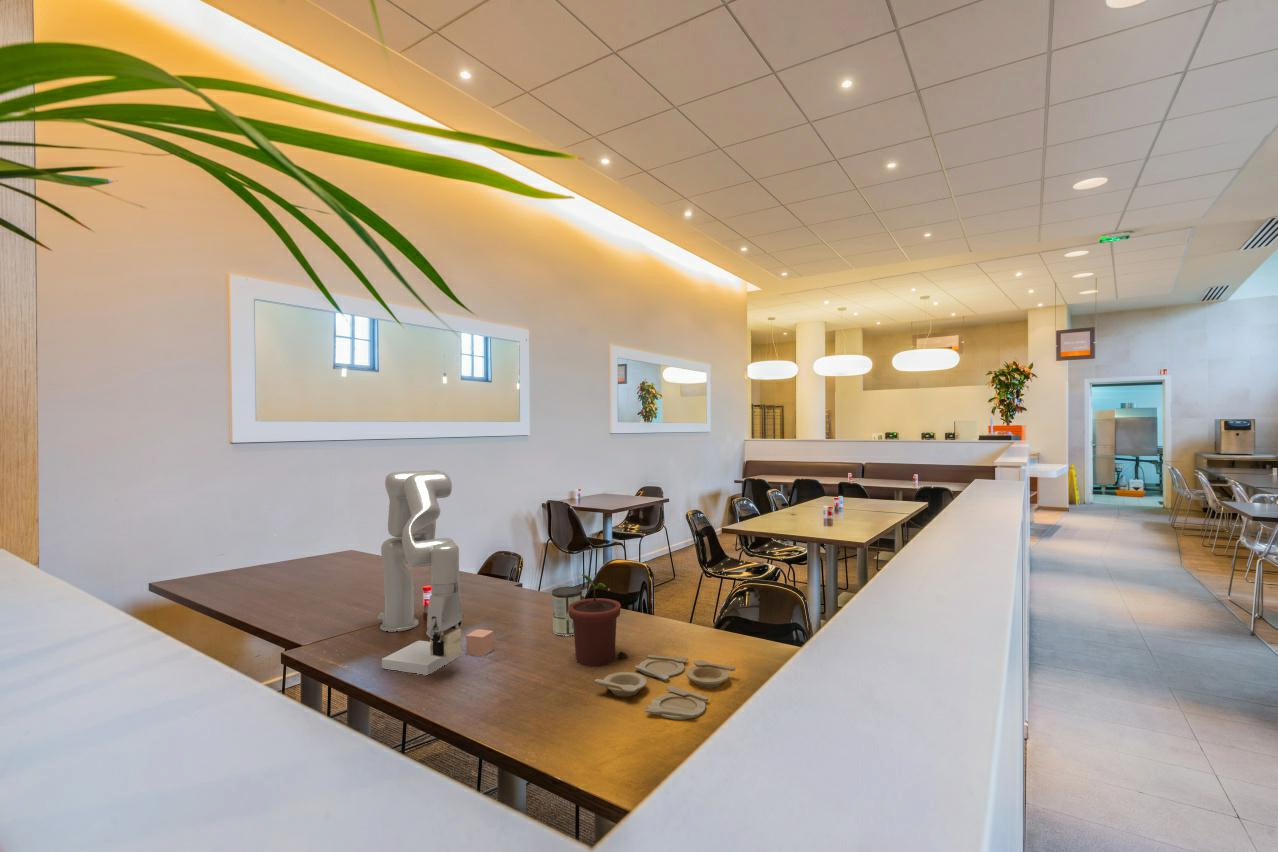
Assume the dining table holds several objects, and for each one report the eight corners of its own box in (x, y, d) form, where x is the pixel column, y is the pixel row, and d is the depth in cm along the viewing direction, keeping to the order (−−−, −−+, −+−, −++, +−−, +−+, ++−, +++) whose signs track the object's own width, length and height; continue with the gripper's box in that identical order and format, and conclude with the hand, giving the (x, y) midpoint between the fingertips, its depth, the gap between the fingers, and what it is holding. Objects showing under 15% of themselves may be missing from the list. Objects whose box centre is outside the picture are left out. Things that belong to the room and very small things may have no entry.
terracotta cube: (466, 654, 186) (466, 635, 186) (477, 648, 192) (477, 629, 192) (483, 656, 184) (482, 637, 184) (494, 650, 190) (493, 630, 190)
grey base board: (381, 669, 175) (381, 659, 175) (418, 649, 191) (418, 640, 191) (427, 675, 170) (427, 665, 170) (461, 655, 185) (461, 645, 185)
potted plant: (553, 661, 179) (552, 577, 179) (597, 639, 198) (596, 563, 198) (601, 673, 170) (600, 584, 170) (642, 649, 188) (641, 569, 188)
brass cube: (430, 655, 169) (430, 634, 169) (443, 647, 175) (443, 627, 175) (448, 658, 167) (448, 636, 167) (461, 650, 173) (461, 629, 173)
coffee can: (562, 625, 212) (562, 585, 213) (588, 628, 208) (587, 587, 208) (546, 634, 203) (545, 592, 203) (572, 638, 199) (572, 595, 199)
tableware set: (687, 731, 138) (686, 713, 138) (584, 702, 153) (584, 686, 153) (745, 676, 167) (745, 661, 167) (654, 656, 183) (654, 643, 183)
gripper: (452, 578, 180) (453, 638, 180) (413, 595, 164) (414, 660, 164) (474, 580, 178) (474, 641, 178) (436, 597, 161) (437, 664, 162)
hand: (445, 650), depth 171 cm, fingers closed on brass cube, 6 cm apart
